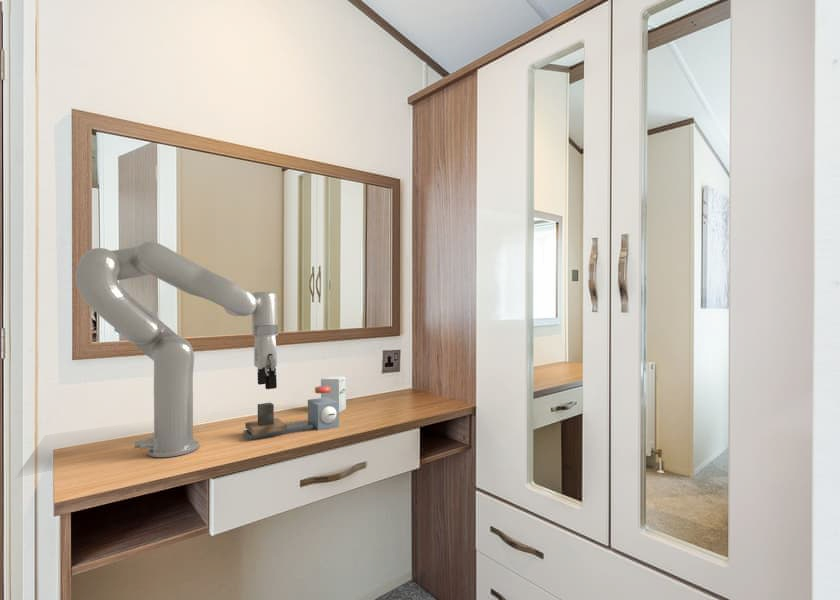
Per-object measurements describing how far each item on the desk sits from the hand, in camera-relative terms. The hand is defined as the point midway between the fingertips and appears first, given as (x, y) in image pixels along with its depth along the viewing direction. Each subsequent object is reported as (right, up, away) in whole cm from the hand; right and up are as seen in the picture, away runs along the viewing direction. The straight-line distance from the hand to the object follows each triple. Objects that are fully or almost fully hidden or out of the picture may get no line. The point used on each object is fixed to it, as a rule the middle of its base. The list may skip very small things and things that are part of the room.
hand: (267, 386), depth 139 cm
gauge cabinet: (+15, -15, +9) cm, 23 cm away
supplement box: (+15, -15, +29) cm, 36 cm away
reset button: (+15, -4, +10) cm, 18 cm away
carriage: (0, -13, 0) cm, 13 cm away
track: (+3, -15, +2) cm, 15 cm away
